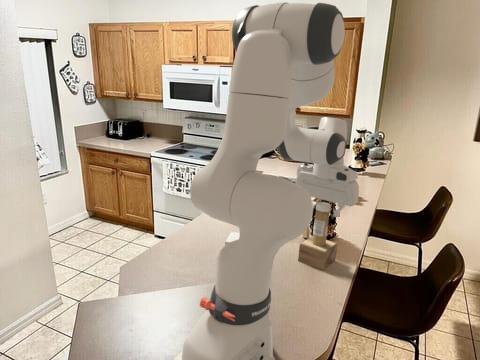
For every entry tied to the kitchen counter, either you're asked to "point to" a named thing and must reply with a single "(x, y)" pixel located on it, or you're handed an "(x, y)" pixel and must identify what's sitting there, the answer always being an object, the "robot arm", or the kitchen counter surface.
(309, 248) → the tan cardboard box
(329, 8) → the robot arm
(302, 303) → the kitchen counter surface
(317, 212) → the sprinkles bottle
